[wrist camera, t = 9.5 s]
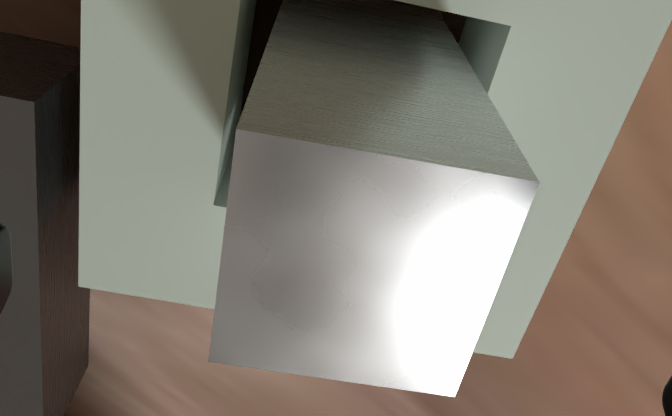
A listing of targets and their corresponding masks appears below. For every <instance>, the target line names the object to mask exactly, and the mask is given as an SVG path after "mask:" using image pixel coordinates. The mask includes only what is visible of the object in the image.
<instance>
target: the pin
mask: <svg viewBox="0 0 672 416" xmlns="http://www.w3.org/2000/svg"><path fill="white" fill-rule="evenodd" d="M539 183H540V182H539V180H538V179H537V177H536V175H535V174H534V172H533V170H532V168H531V167H530V165H529V163H528V162H527V160H526V158H525V157H524V155H523V153H522V152H521V150H520V148H519V146H518V145H517V143H516V141H515V140H514V138H513V136H512V135H511V133H510V131H509V130H508V128H507V126H506V124H505V123H504V121H503V119H502V118H501V116H500V114H499V113H498V111H497V109H496V108H495V106H494V104H493V102H492V101H491V99H490V97H489V96H488V94H487V92H486V91H485V89H484V87H483V86H482V84H481V82H480V80H479V79H478V77H477V75H476V74H475V72H474V70H473V69H472V67H471V65H470V64H469V62H468V60H467V58H466V57H465V55H464V53H463V52H462V50H461V48H460V47H459V45H458V43H457V42H456V40H455V38H454V37H453V35H452V33H451V31H450V30H449V28H448V26H447V25H446V23H445V21H444V20H443V18H442V16H441V15H440V13H439V11H438V10H436V9H432V8H427V7H422V6H417V5H412V4H407V3H402V2H397V1H392V0H283V1H282V4H281V7H280V9H279V12H278V15H277V18H276V20H275V23H274V26H273V29H272V31H271V34H270V37H269V40H268V42H267V45H266V48H265V51H264V53H263V56H262V59H261V62H260V64H259V67H258V70H257V73H256V76H255V78H254V81H253V84H252V87H251V89H250V92H249V95H248V98H247V100H246V103H245V106H244V109H243V111H242V114H241V117H240V120H239V122H238V125H237V128H236V134H235V142H234V151H233V159H232V167H231V176H230V184H229V193H228V201H227V209H226V218H225V226H224V234H223V243H222V251H221V259H220V268H219V276H218V285H217V293H216V301H215V310H214V318H213V326H212V335H211V343H210V351H209V360H208V362H213V363H220V364H227V365H234V366H241V367H248V368H255V369H262V370H269V371H276V372H283V373H290V374H297V375H304V376H311V377H318V378H325V379H332V380H339V381H346V382H353V383H360V384H367V385H374V386H381V387H388V388H395V389H402V390H409V391H416V392H423V393H430V394H437V395H444V396H451V397H455V395H456V393H457V390H458V388H459V385H460V383H461V380H462V377H463V375H464V372H465V370H466V367H467V365H468V362H469V360H470V357H471V355H472V352H473V350H474V347H475V345H476V342H477V340H478V337H479V335H480V332H481V329H482V327H483V324H484V322H485V319H486V317H487V314H488V312H489V309H490V307H491V304H492V302H493V299H494V297H495V294H496V292H497V289H498V287H499V284H500V281H501V279H502V276H503V274H504V271H505V269H506V266H507V264H508V261H509V259H510V256H511V254H512V251H513V249H514V246H515V244H516V241H517V239H518V236H519V233H520V231H521V228H522V226H523V223H524V221H525V218H526V216H527V213H528V211H529V208H530V206H531V203H532V201H533V198H534V196H535V193H536V191H537V188H538V185H539Z"/></svg>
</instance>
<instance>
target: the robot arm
mask: <svg viewBox="0 0 672 416" xmlns="http://www.w3.org/2000/svg"><path fill="white" fill-rule="evenodd" d="M12 284H13V267H12V249H11V235H10V231H9V229H8V227H7V226H6V225H4V224H2V223H0V315H1V313H2V311H3V308H4V306H5V304H6V302H7V300H8V298H9V296H10V293H11V289H12ZM662 403H663V408H664V412H665V416H672V376H671V378H670V379H669V381H668V382H667V384H666V386H665V388H664V391H663V396H662Z"/></svg>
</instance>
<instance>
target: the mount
mask: <svg viewBox="0 0 672 416" xmlns="http://www.w3.org/2000/svg"><path fill="white" fill-rule="evenodd" d="M80 50H81V48H77V47H72V46H67V45H62V44H57V43H52V42H47V41H42V40H37V39H32V38H27V37H22V36H18V35H13V34H8V33H3V32H0V223H2V224H4V225H6V226H7V227H8V229H9V231H10V235H11V249H12V267H13V284H12V289H11V293H10V296H9V298H8V300H7V302H6V304H5V306H4V308H3V311H2V313H1V315H0V416H64V414H65V412H66V410H67V408H68V406H69V404H70V402H71V399H72V397H73V395H74V393H75V391H76V389H77V387H78V385H79V383H80V381H81V379H82V377H83V375H84V373H85V370H86V368H87V366H88V346H89V298H90V288H85V287H79V286H78V262H79V156H80Z"/></svg>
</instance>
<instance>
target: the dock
mask: <svg viewBox="0 0 672 416" xmlns="http://www.w3.org/2000/svg"><path fill="white" fill-rule="evenodd" d="M256 1H257V0H81V50H80V156H79V262H78V286H79V287H85V288H91V289H97V290H103V291H109V292H115V293H121V294H127V295H133V296H139V297H145V298H151V299H157V300H163V301H169V302H175V303H181V304H187V305H193V306H199V307H205V308H211V309H215V301H216V293H217V285H218V276H219V268H220V259H221V251H222V243H223V234H224V226H225V218H226V209H227V201H228V193H229V184H230V176H231V167H232V159H233V151H234V142H235V134H236V128H237V125H238V122H239V119H240V112H241V105H242V98H243V91H244V84H245V77H246V70H247V63H248V56H249V49H250V43H251V36H252V29H253V22H254V15H255V8H256ZM396 1H400V2H405V3H409V4H414V5H418V6H423V7H427V8H432V9H436V10H441V11H445V12H450V13H454V14H459V15H463V16H467V18H466V21H465V24H464V27H463V31H462V34H461V37H460V40H459V43H458V45H459V47H460V48H461V50H462V52H463V53H464V55H465V57H466V58H467V60H468V62H469V64H470V65H471V67H472V69H473V70H474V72H475V74H476V75H477V77H478V79H479V80H480V82H481V84H482V86H483V87H484V89H485V91H486V92H487V94H488V96H489V97H490V99H491V101H492V102H493V104H494V106H495V108H496V109H497V111H498V113H499V114H500V116H501V118H502V119H503V121H504V123H505V124H506V126H507V128H508V130H509V131H510V133H511V135H512V136H513V138H514V140H515V141H516V143H517V145H518V146H519V148H520V150H521V152H522V153H523V155H524V157H525V158H526V160H527V162H528V163H529V165H530V167H531V168H532V170H533V172H534V174H535V175H536V177H537V179H538V180H539V182H540V183H539V185H538V188H537V191H536V193H535V196H534V198H533V201H532V203H531V206H530V208H529V211H528V213H527V216H526V218H525V221H524V223H523V226H522V228H521V231H520V233H519V236H518V239H517V241H516V244H515V246H514V249H513V251H512V254H511V256H510V259H509V261H508V264H507V266H506V269H505V271H504V274H503V276H502V279H501V281H500V284H499V287H498V289H497V292H496V294H495V297H494V299H493V302H492V304H491V307H490V309H489V312H488V314H487V317H486V319H485V322H484V324H483V327H482V329H481V332H480V335H479V337H478V340H477V342H476V345H475V347H474V350H473V352H475V353H481V354H487V355H493V356H499V357H505V358H511V359H513V356H514V354H515V352H516V350H517V348H518V346H519V344H520V341H521V339H522V337H523V335H524V333H525V331H526V329H527V327H528V324H529V322H530V320H531V318H532V316H533V314H534V312H535V310H536V307H537V305H538V303H539V301H540V299H541V297H542V295H543V292H544V290H545V288H546V286H547V284H548V282H549V280H550V278H551V275H552V273H553V271H554V269H555V267H556V265H557V263H558V261H559V258H560V256H561V254H562V252H563V250H564V248H565V246H566V243H567V241H568V239H569V237H570V235H571V233H572V231H573V229H574V226H575V224H576V222H577V220H578V218H579V216H580V214H581V212H582V209H583V207H584V205H585V203H586V201H587V199H588V197H589V195H590V192H591V190H592V188H593V186H594V184H595V182H596V180H597V177H598V175H599V173H600V171H601V169H602V167H603V165H604V163H605V160H606V158H607V156H608V154H609V152H610V150H611V148H612V146H613V143H614V141H615V139H616V137H617V135H618V133H619V131H620V128H621V126H622V124H623V122H624V120H625V118H626V116H627V114H628V111H629V109H630V107H631V105H632V103H633V101H634V99H635V97H636V94H637V92H638V90H639V88H640V86H641V84H642V82H643V79H644V77H645V75H646V73H647V71H648V69H649V67H650V65H651V62H652V60H653V58H654V56H655V54H656V52H657V50H658V48H659V45H660V43H661V41H662V39H663V37H664V35H665V33H666V31H667V28H668V26H669V24H670V22H671V20H672V0H396Z"/></svg>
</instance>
